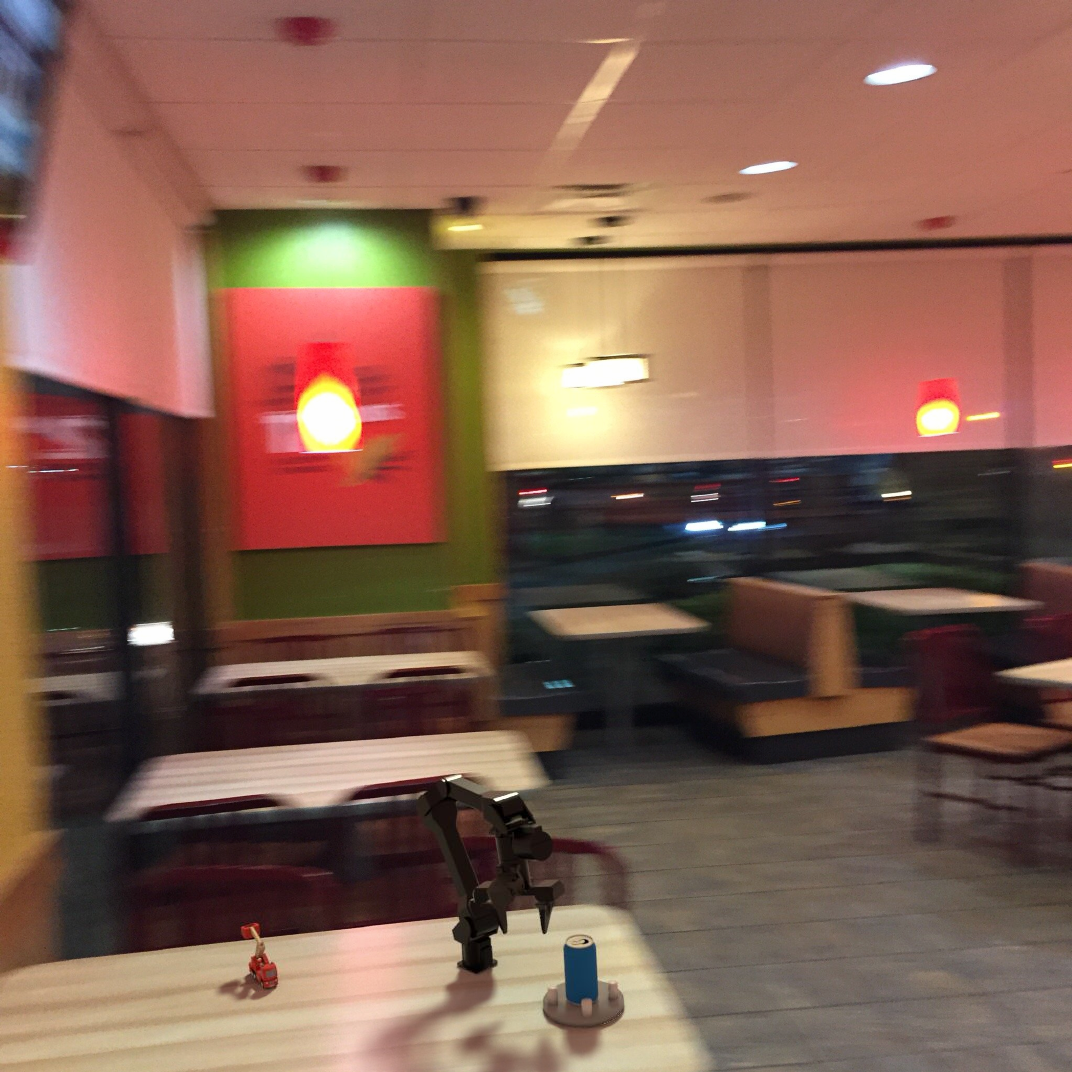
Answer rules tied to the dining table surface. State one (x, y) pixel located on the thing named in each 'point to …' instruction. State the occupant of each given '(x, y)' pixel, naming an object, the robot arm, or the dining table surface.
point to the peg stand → (584, 1006)
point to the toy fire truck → (261, 967)
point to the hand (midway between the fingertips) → (525, 933)
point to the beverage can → (580, 968)
